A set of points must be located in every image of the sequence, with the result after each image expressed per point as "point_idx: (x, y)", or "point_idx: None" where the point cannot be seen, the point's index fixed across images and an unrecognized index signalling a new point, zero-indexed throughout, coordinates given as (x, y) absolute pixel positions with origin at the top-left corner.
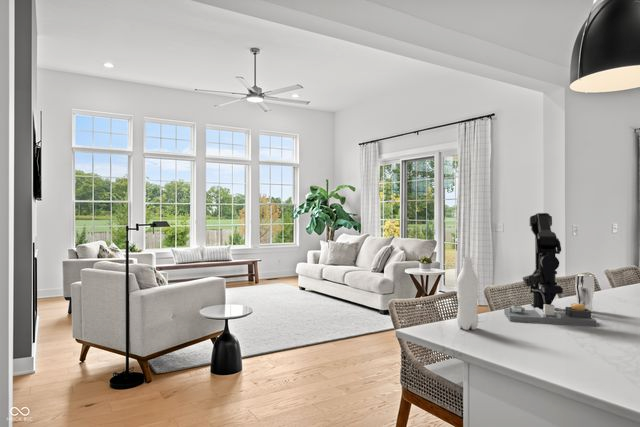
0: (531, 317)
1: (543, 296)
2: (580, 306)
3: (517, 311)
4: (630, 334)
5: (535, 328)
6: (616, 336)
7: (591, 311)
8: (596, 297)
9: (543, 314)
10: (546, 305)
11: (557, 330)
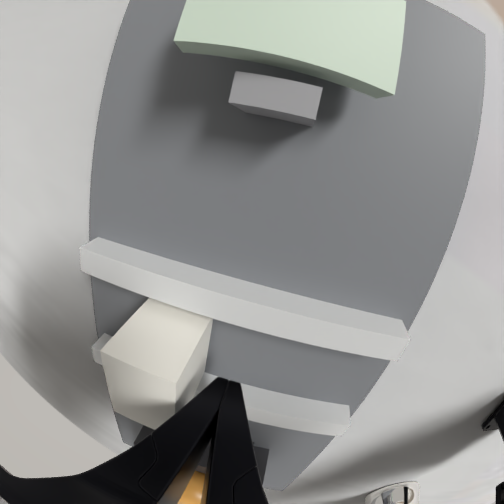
0: (98, 132)
1: (206, 496)
2: None
3: None
4: (68, 416)
5: (21, 120)
6: (30, 370)
7: (365, 501)
8: (480, 499)
9: (81, 249)
10: (105, 364)
11: (12, 222)
